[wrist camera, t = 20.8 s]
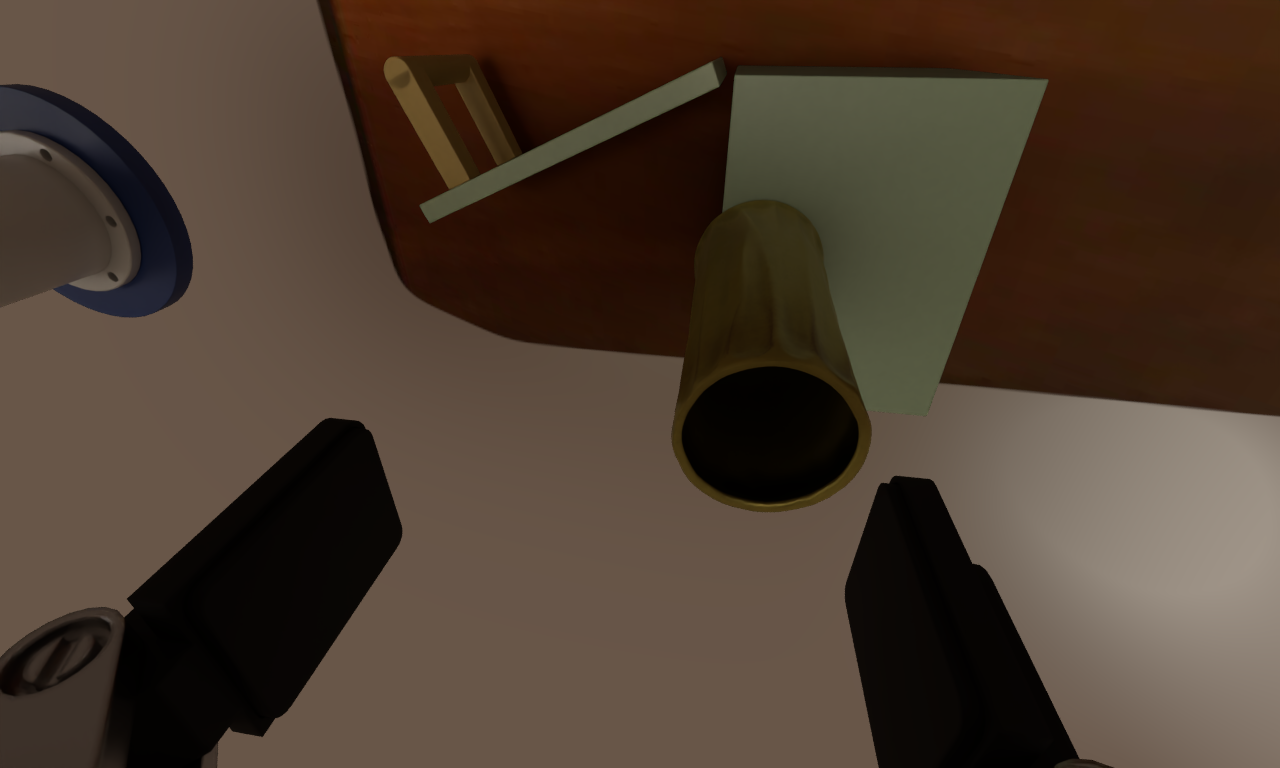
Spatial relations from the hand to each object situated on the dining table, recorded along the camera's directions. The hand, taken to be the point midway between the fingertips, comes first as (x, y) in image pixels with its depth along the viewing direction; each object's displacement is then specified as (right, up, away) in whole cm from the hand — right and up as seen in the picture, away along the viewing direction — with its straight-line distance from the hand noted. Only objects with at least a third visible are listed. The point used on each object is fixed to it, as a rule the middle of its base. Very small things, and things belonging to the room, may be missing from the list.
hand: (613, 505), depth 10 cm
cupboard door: (-3, +22, +23) cm, 32 cm away
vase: (+6, +8, +16) cm, 19 cm away
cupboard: (+12, +14, +26) cm, 32 cm away
